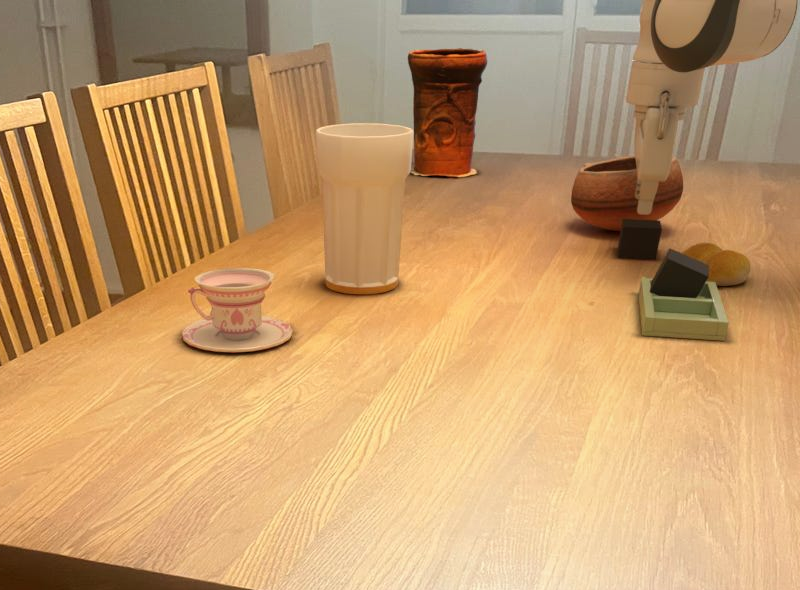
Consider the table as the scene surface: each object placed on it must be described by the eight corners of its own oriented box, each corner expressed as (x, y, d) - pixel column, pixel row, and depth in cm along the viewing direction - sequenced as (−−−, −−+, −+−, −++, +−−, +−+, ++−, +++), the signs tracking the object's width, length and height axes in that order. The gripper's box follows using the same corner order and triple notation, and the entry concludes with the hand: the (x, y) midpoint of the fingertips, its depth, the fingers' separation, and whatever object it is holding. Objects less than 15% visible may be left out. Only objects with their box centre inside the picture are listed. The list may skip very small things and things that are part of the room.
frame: (711, 298, 115) (715, 281, 114) (724, 341, 102) (729, 322, 101) (638, 294, 117) (641, 277, 115) (642, 335, 104) (645, 316, 103)
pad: (690, 297, 114) (709, 265, 111) (689, 309, 110) (708, 276, 107) (651, 280, 114) (669, 247, 111) (649, 291, 110) (667, 258, 108)
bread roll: (721, 291, 117) (728, 257, 115) (662, 275, 123) (668, 243, 121) (762, 280, 121) (771, 247, 119) (703, 265, 127) (710, 233, 125)
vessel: (400, 178, 179) (405, 53, 168) (405, 165, 191) (410, 47, 179) (478, 179, 178) (488, 53, 166) (478, 166, 189) (488, 47, 178)
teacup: (274, 315, 111) (273, 259, 107) (307, 347, 101) (306, 287, 98) (172, 326, 108) (166, 269, 104) (195, 360, 98) (190, 298, 95)
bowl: (570, 215, 153) (580, 145, 147) (673, 221, 149) (687, 149, 143) (563, 238, 140) (573, 162, 135) (675, 244, 137) (690, 167, 131)
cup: (420, 279, 123) (429, 126, 113) (382, 302, 115) (387, 139, 105) (342, 268, 127) (344, 120, 117) (300, 289, 119) (297, 132, 109)
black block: (654, 251, 134) (660, 220, 132) (655, 259, 130) (661, 228, 128) (617, 249, 135) (622, 218, 133) (617, 257, 131) (623, 226, 129)
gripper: (696, 98, 112) (670, 224, 120) (684, 80, 128) (663, 192, 136) (640, 96, 113) (619, 221, 121) (636, 78, 129) (617, 190, 137)
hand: (642, 205), depth 129 cm, fingers open, 8 cm apart
